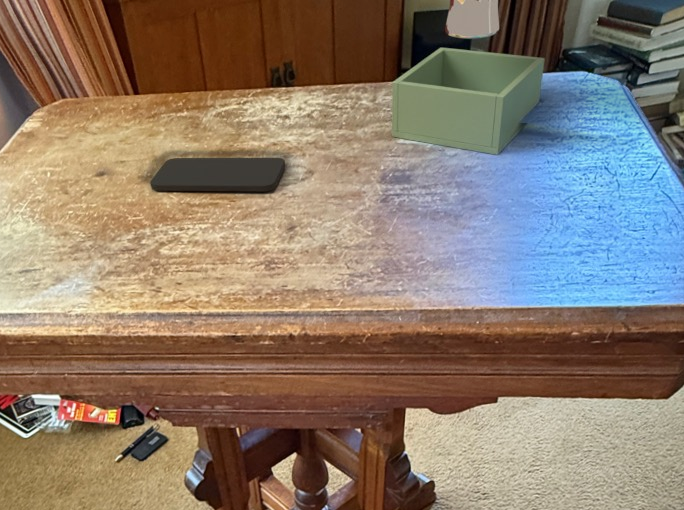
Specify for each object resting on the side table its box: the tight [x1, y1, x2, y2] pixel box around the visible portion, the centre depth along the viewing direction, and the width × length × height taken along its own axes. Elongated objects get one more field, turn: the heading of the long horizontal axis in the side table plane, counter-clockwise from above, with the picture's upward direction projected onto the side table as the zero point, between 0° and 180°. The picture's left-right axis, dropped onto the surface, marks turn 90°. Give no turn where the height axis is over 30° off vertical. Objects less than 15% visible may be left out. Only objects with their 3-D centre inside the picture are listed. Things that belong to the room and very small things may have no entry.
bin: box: [391, 47, 546, 156], centre depth 88 cm, size 14×14×7 cm
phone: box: [149, 157, 286, 192], centre depth 84 cm, size 7×1×15 cm
